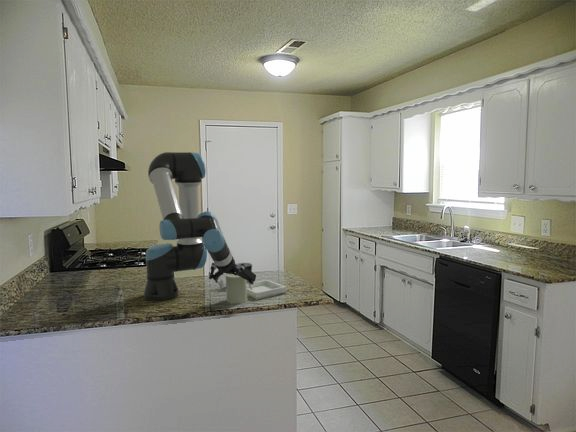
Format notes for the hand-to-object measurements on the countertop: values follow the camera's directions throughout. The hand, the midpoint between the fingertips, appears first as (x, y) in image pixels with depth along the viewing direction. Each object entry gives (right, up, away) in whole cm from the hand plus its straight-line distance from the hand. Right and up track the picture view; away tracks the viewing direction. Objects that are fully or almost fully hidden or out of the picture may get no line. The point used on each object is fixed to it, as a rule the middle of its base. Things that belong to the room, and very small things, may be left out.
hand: (237, 286), depth 176 cm
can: (0, -7, +2) cm, 7 cm away
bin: (+10, -5, +13) cm, 17 cm away
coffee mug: (-1, -4, +27) cm, 27 cm away
